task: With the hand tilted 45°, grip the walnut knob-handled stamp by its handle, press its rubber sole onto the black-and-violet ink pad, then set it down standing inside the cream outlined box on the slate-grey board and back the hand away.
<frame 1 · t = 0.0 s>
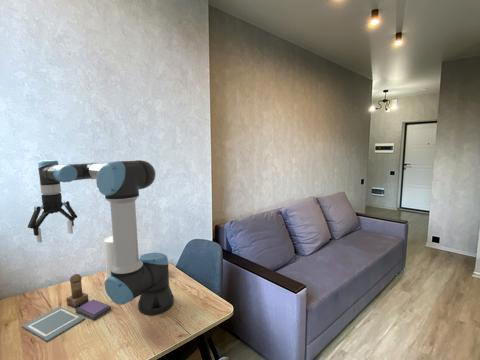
hand: (55, 237, 123), 28 cm above the table, tool pointing down, fingers open, 13 cm apart
stamp: (77, 303, 117), on the table
ink pad: (93, 311, 112), on the table
form board: (54, 323, 104), on the table
canister: (119, 272, 147), on the table
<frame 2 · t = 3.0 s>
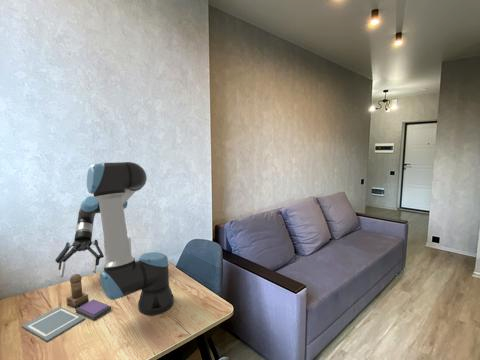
hand: (78, 274, 121), 11 cm above the table, tool tilted 45°, fingers open, 13 cm apart
nothing on the table moved.
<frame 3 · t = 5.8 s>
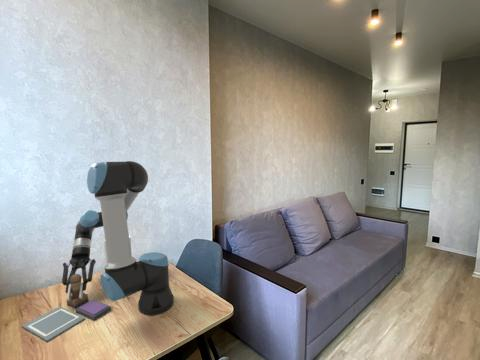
hand: (74, 299, 113), 4 cm above the table, tool tilted 45°, fingers closed on stamp, 4 cm apart
stamp: (77, 303, 117), on the table, touching gripper
everything else where it was.
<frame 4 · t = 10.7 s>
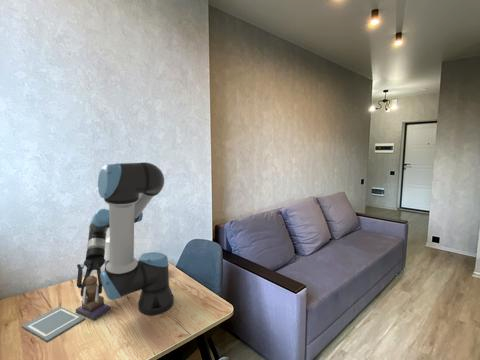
hand: (90, 302, 107), 6 cm above the table, tool tilted 45°, fingers closed on stamp, 4 cm apart
stamp: (93, 306, 111), point 2 cm above the table, touching gripper, ink pad
everything else where it was.
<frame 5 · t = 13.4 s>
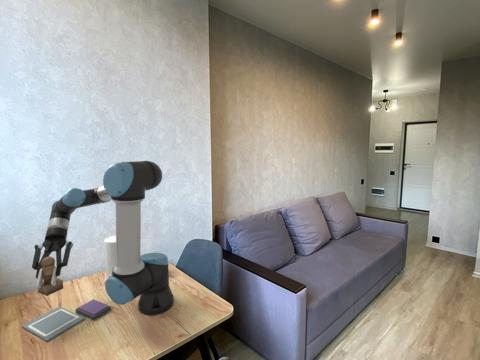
hand: (45, 285, 98), 18 cm above the table, tool tilted 45°, fingers closed on stamp, 4 cm apart
stamp: (50, 290, 103), point 14 cm above the table, touching gripper
everything else where it was.
when the fingers open (6 cm above the table, at t = 15.7 s): stamp drops 1 cm, resting on form board.
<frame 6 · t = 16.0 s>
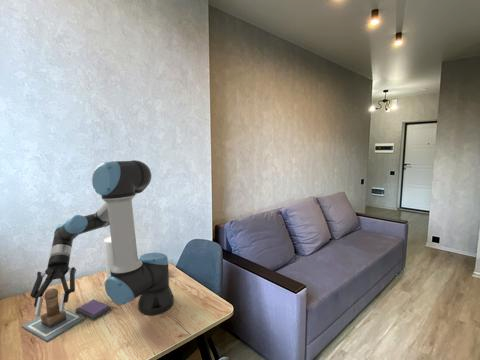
hand: (49, 313, 100), 6 cm above the table, tool tilted 45°, fingers open, 7 cm apart
stamp: (54, 321, 104), point 1 cm above the table, touching form board
everything else where it was.
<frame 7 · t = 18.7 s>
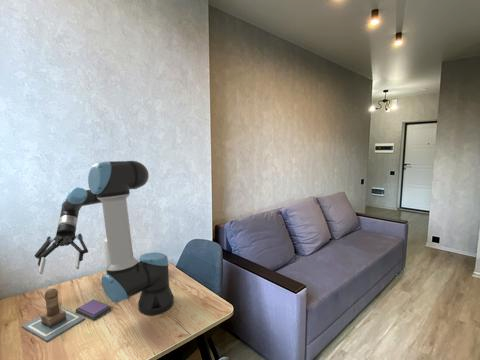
hand: (59, 270, 112), 17 cm above the table, tool tilted 45°, fingers open, 13 cm apart
nothing on the table moved.
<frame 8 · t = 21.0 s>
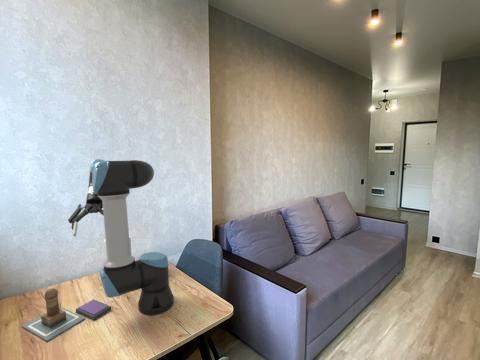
hand: (90, 233, 123), 30 cm above the table, tool tilted 45°, fingers open, 13 cm apart
nothing on the table moved.
at the end: stamp 0.1 cm off-centre on the form board, point 0.6 cm above the form board's base; stamp tilted 0°; the gripper is holding nothing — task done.
